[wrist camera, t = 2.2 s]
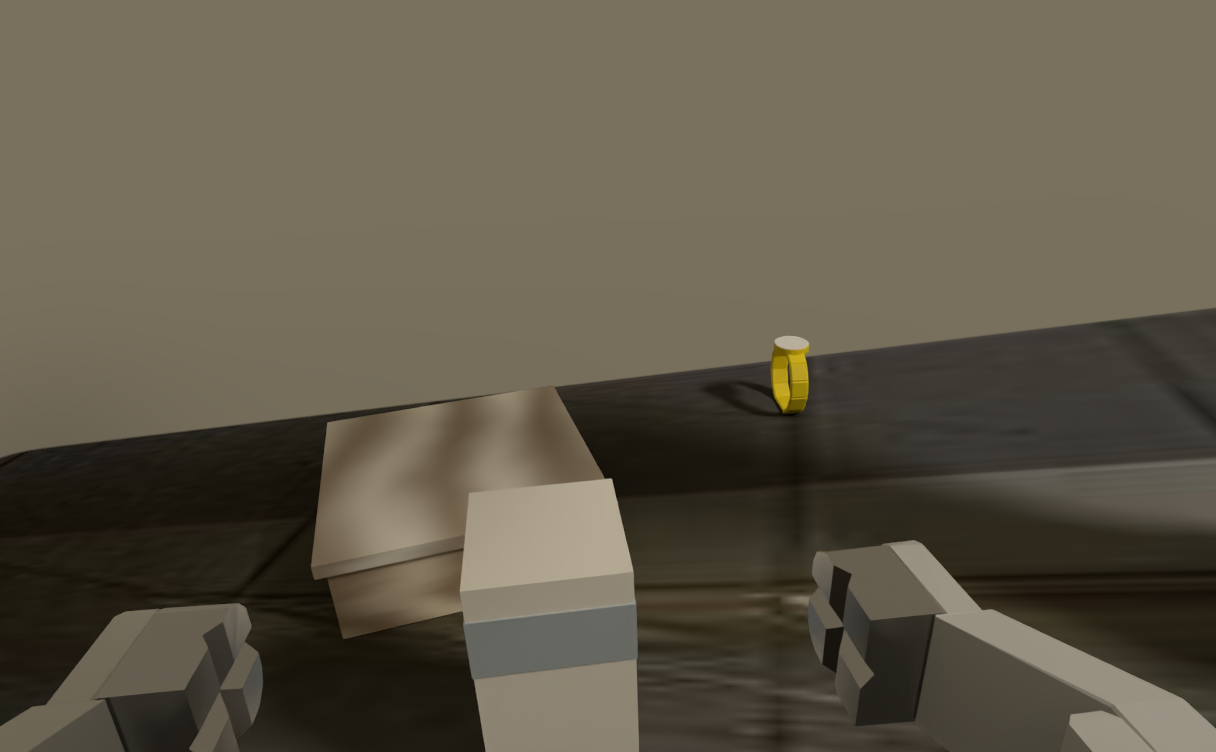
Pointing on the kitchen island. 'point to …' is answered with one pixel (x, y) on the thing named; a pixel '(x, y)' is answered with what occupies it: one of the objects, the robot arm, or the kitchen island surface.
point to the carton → (551, 619)
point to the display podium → (427, 497)
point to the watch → (794, 355)
